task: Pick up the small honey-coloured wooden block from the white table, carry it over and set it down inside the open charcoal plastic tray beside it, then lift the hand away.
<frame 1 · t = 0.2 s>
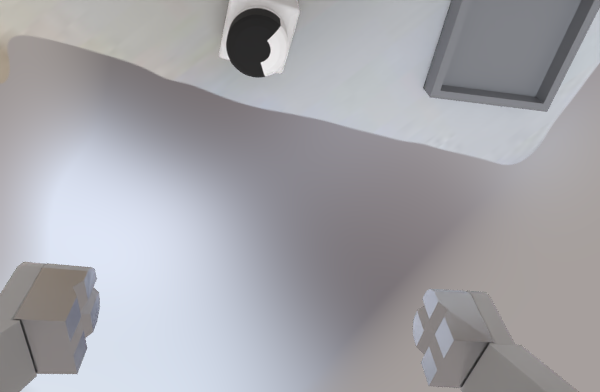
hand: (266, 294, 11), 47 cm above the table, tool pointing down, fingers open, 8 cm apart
sorting tray: (505, 34, 56), on the table
medicine bottle: (259, 16, 53), on the table
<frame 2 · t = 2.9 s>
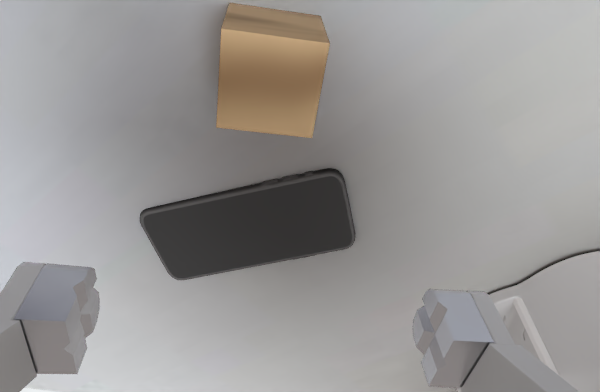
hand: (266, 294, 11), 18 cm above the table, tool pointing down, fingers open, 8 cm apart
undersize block: (270, 54, 26), on the table
smartphone: (250, 222, 34), on the table
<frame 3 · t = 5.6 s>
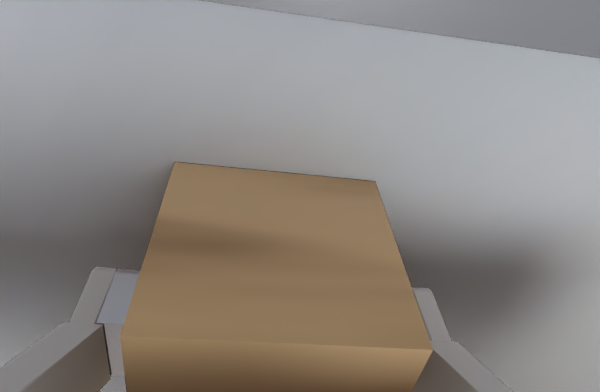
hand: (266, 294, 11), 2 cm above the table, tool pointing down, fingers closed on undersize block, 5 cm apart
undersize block: (266, 246, 13), on the table, touching gripper
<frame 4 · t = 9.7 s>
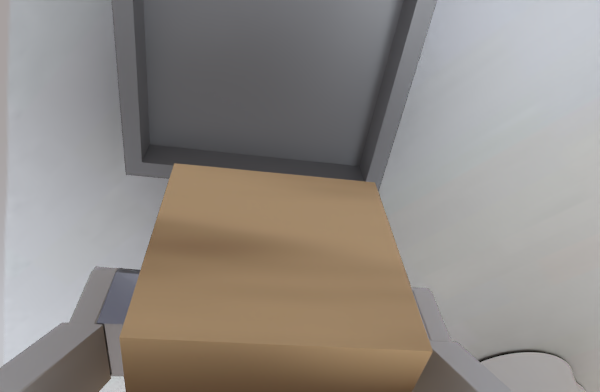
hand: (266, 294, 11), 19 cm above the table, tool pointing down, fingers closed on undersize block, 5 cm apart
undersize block: (266, 247, 13), point 18 cm above the table, touching gripper
sorting tray: (269, 47, 27), on the table
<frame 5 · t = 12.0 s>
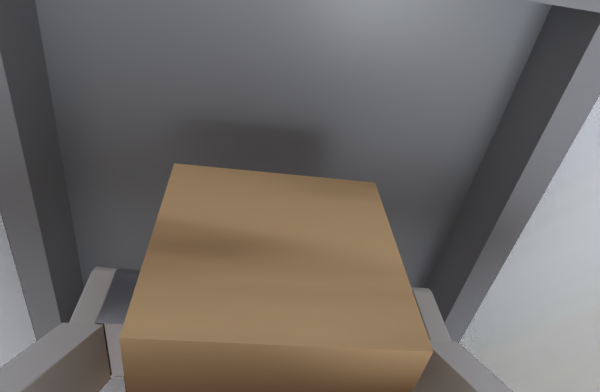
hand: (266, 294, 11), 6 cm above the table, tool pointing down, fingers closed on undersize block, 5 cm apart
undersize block: (266, 248, 13), point 4 cm above the table, touching gripper
sorting tray: (275, 165, 16), on the table
when the fingers open (3 cm above the table, at t = 13.8 s): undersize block stays where it is, resting on sorting tray.
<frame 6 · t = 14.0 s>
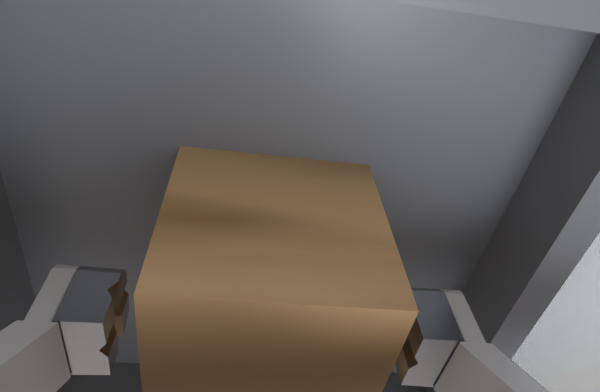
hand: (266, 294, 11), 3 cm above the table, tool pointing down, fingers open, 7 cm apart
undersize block: (266, 228, 13), point 1 cm above the table, touching sorting tray
sorting tray: (266, 210, 14), on the table
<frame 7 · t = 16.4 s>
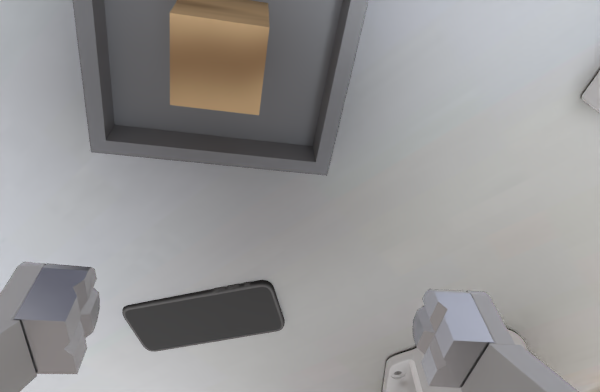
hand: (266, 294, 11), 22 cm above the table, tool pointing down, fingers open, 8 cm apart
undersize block: (223, 38, 28), point 1 cm above the table, touching sorting tray
smartphone: (206, 312, 46), on the table
sorting tray: (224, 33, 29), on the table
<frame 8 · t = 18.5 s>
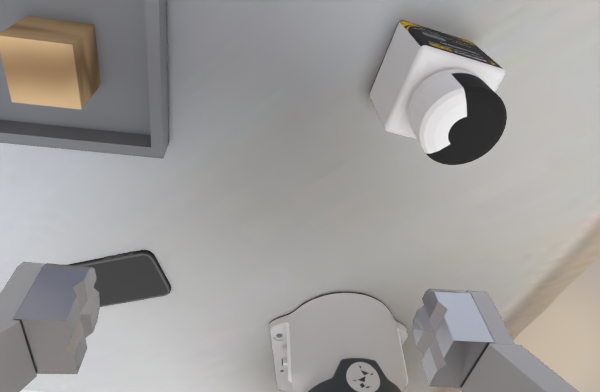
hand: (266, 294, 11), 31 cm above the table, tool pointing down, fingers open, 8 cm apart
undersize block: (65, 51, 37), point 1 cm above the table, touching sorting tray
smartphone: (104, 278, 54), on the table
sorting tray: (68, 48, 38), on the table
medicine bottle: (418, 69, 41), on the table
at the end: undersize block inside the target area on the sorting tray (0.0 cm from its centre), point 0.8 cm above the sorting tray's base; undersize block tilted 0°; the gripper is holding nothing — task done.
